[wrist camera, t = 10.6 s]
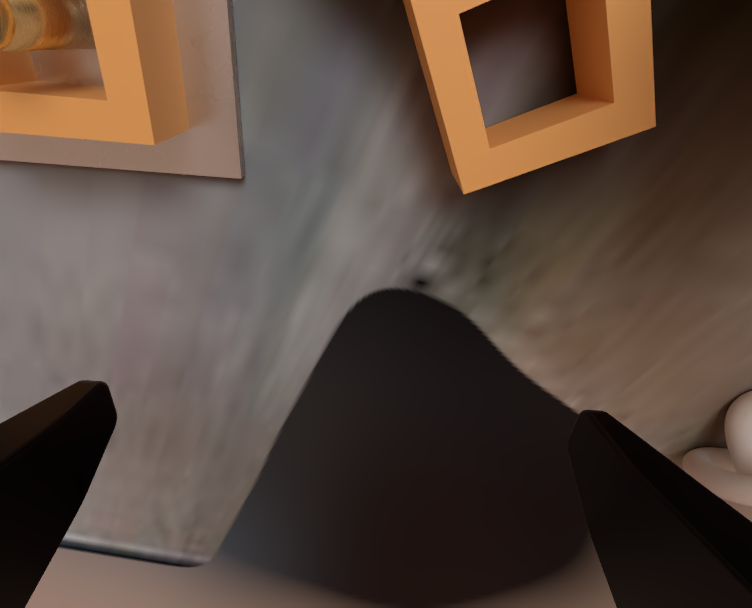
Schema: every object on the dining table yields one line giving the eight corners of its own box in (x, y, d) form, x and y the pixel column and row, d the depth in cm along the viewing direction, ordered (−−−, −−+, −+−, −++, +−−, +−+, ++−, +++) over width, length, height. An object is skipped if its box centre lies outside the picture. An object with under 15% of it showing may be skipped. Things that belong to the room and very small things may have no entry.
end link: (160, -96, 13) (107, -129, 11) (189, 129, 16) (154, 145, 14) (-60, -119, 13) (-169, -160, 10) (15, 114, 16) (-54, 127, 14)
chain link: (594, -95, 14) (645, -126, 11) (613, 113, 17) (656, 126, 14) (401, -6, 15) (406, -17, 12) (451, 172, 18) (463, 194, 15)
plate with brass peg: (219, -168, 13) (114, -307, 8) (245, 174, 18) (193, 227, 13) (-136, -207, 12) (-489, -377, 7) (-5, 155, 18) (-160, 200, 12)
